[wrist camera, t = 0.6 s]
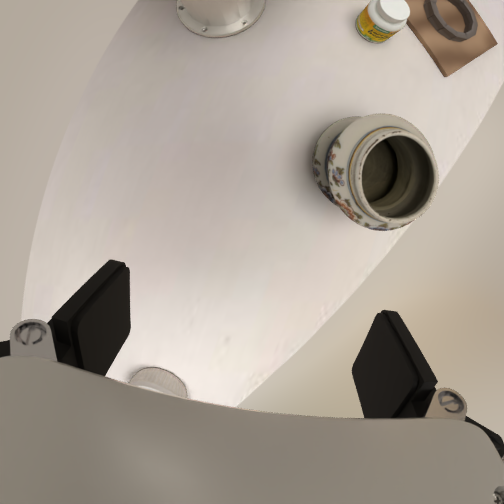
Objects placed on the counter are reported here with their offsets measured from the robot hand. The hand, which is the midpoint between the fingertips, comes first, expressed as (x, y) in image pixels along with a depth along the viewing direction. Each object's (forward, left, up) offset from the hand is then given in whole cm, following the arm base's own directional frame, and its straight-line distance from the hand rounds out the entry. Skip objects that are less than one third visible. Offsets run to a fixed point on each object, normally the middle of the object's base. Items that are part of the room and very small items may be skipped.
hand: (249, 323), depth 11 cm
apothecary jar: (+5, +12, -34) cm, 36 cm away
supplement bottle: (-9, +28, -34) cm, 45 cm away
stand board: (-5, +42, -34) cm, 54 cm away
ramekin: (+19, -41, -34) cm, 57 cm away
